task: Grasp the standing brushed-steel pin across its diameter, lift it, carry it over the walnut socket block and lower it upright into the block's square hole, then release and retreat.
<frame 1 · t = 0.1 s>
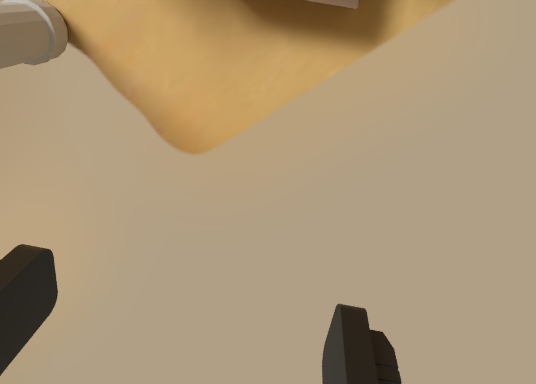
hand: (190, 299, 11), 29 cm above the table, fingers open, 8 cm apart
pipe: (43, 33, 37), on the table
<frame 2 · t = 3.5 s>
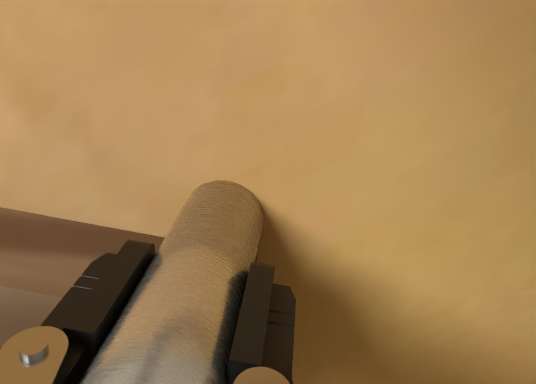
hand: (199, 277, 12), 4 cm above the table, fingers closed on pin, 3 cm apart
socket block: (124, 328, 19), on the table
pin: (224, 216, 15), on the table, touching gripper, socket block
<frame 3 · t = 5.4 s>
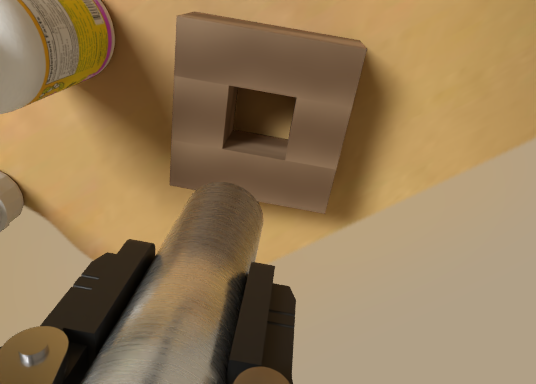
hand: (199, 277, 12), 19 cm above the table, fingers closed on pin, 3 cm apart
socket block: (264, 107, 29), on the table
pin: (224, 217, 15), point 15 cm above the table, touching gripper
supplement bottle: (74, 29, 28), on the table
when the fingers open (5 cm above the table, at t = 7.7 s): pin drops 1 cm, resting in socket block.
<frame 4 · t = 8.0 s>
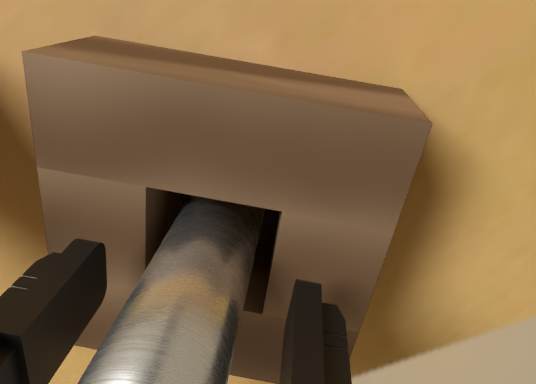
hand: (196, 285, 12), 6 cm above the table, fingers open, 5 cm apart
socket block: (230, 198, 17), on the table
pin: (230, 198, 17), resting in socket block
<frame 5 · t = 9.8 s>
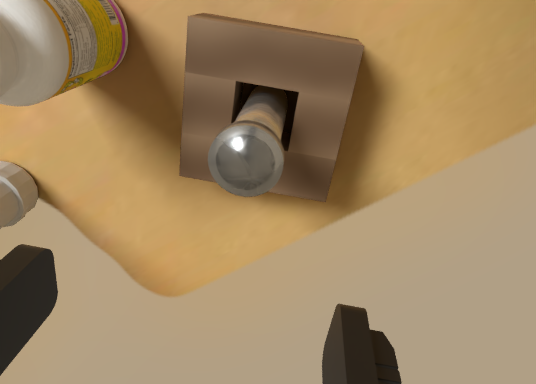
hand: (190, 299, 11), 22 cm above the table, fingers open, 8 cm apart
socket block: (268, 102, 31), on the table
pin: (268, 103, 31), resting in socket block
pipe: (13, 188, 37), on the table
supplement bottle: (89, 29, 30), on the table
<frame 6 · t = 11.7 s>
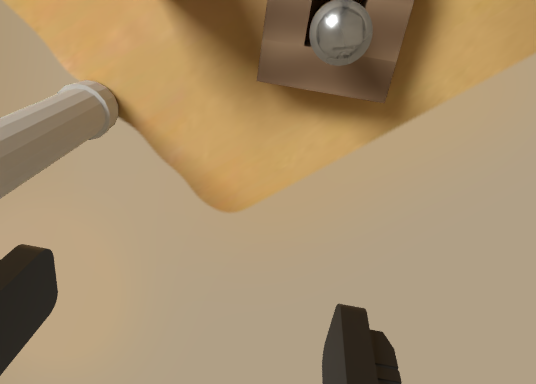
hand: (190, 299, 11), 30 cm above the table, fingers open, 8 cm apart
socket block: (332, 19, 35), on the table
pin: (332, 19, 35), resting in socket block
pipe: (95, 108, 41), on the table
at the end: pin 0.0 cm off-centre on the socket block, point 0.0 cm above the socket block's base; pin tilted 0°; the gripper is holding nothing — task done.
